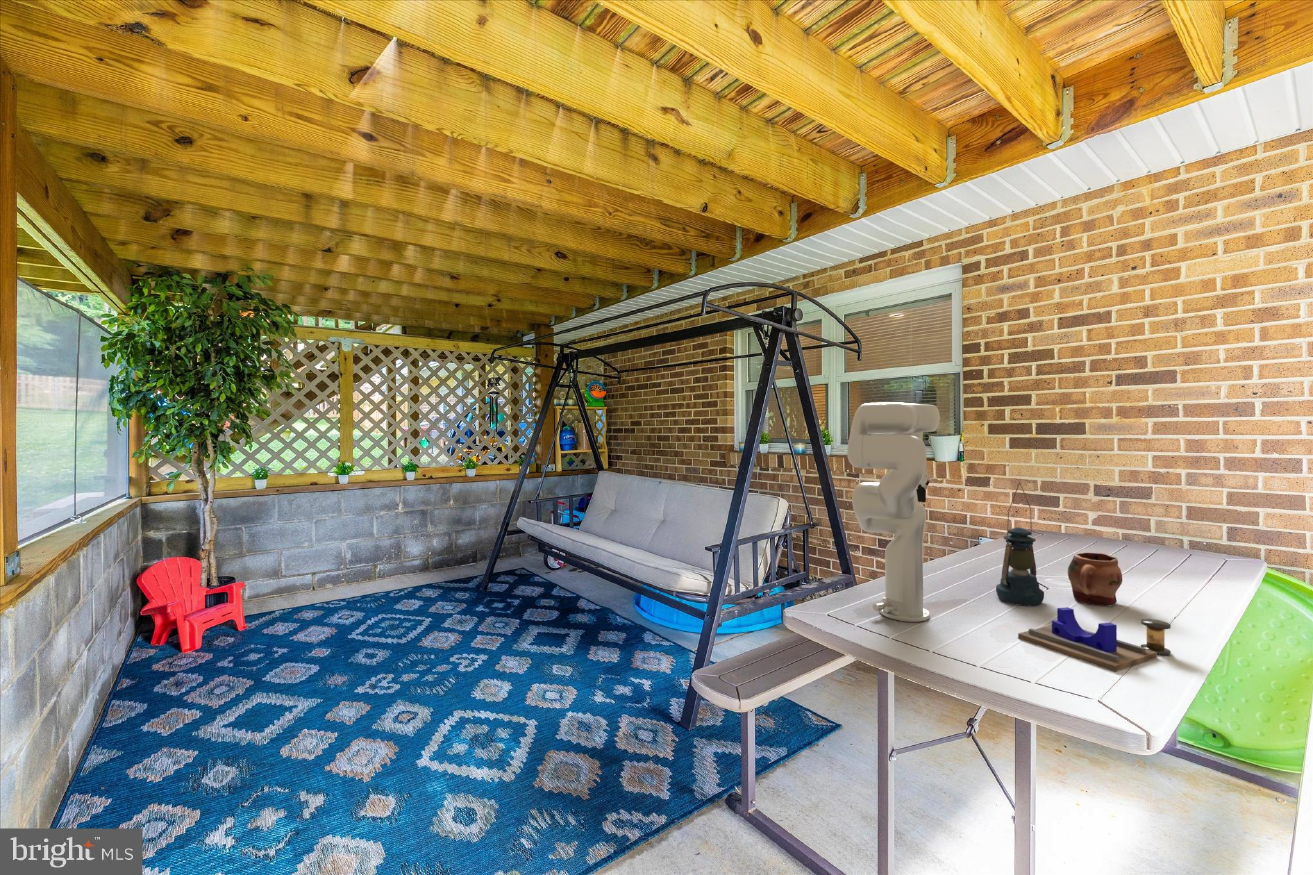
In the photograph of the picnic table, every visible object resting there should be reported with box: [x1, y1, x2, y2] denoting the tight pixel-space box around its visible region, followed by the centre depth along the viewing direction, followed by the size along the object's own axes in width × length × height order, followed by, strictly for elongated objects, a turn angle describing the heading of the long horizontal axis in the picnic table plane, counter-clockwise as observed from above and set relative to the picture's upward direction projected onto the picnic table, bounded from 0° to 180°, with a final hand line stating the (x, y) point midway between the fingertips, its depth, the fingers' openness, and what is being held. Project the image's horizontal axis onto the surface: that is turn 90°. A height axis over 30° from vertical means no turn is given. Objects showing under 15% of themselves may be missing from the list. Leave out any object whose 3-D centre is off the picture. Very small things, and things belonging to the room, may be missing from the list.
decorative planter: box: [1067, 552, 1123, 607], centre depth 155 cm, size 20×12×14 cm, turn 132°
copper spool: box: [1140, 618, 1172, 657], centre depth 122 cm, size 5×5×7 cm
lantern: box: [995, 482, 1045, 607], centre depth 159 cm, size 14×12×35 cm
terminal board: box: [1017, 624, 1158, 673], centre depth 125 cm, size 16×20×2 cm
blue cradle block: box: [1051, 606, 1118, 652], centre depth 125 cm, size 12×4×6 cm, turn 8°
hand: (909, 503), depth 165 cm, fingers open, 9 cm apart
